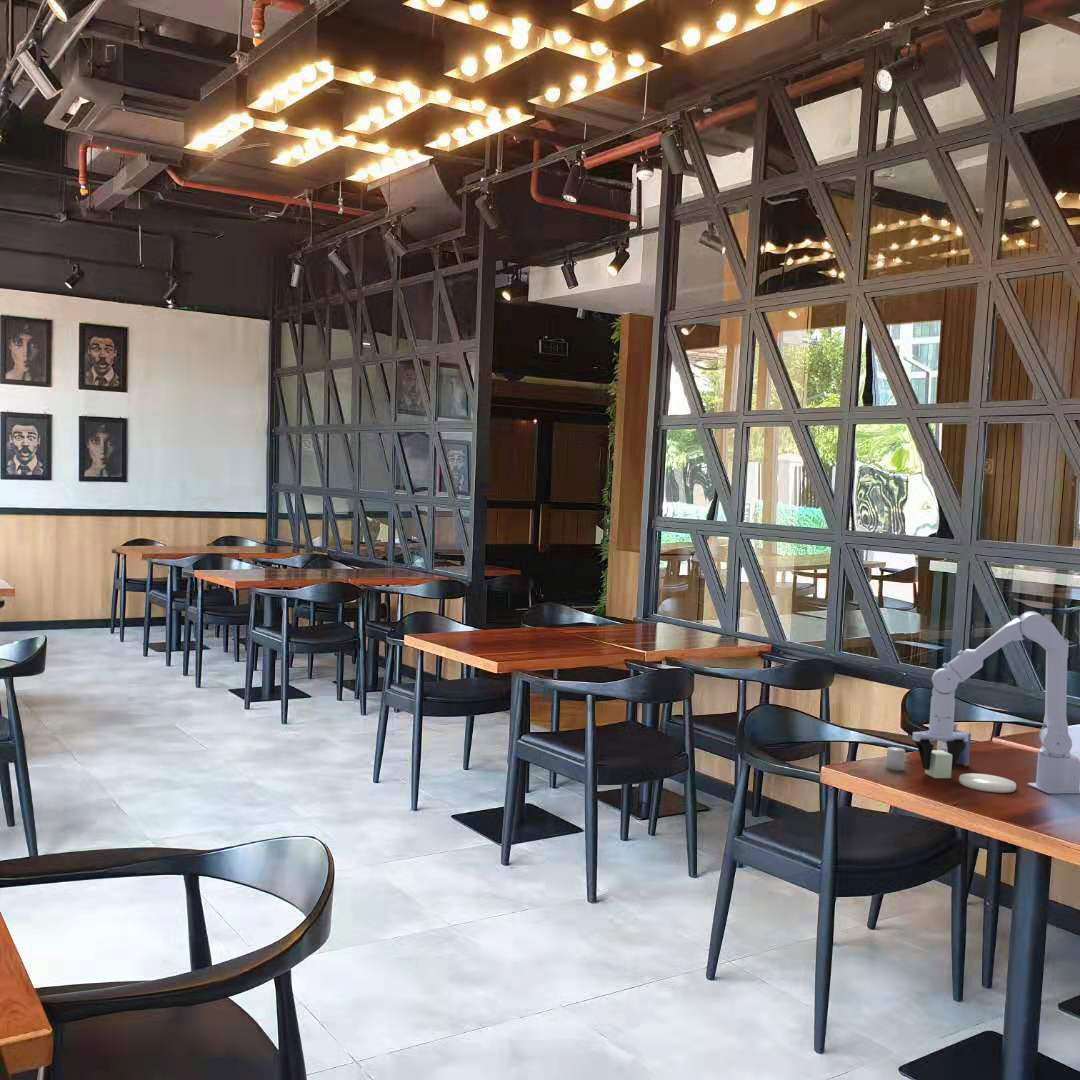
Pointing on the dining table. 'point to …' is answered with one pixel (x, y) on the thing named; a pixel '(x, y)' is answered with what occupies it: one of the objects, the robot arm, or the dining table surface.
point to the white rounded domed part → (895, 758)
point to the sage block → (940, 764)
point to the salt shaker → (942, 746)
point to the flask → (964, 755)
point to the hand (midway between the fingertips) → (938, 768)
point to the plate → (987, 783)
